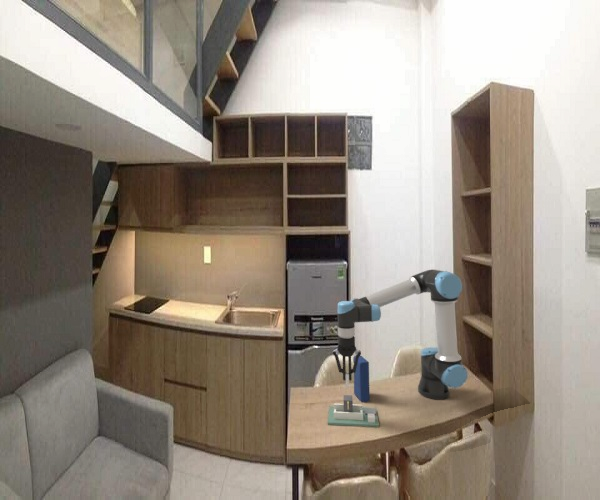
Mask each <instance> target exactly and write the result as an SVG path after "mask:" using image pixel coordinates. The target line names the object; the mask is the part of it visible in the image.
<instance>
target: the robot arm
mask: <svg viewBox="0 0 600 500" xmlns="http://www.w3.org/2000/svg"><path fill="white" fill-rule="evenodd" d="M462 289H463V284H462V280H461V278H460V277H459V276H458V275H456V274H455V273H453V272H451V271H448V270H447V271H446V270H439V269H428V270H425V271H421V272H419V273H417V274H413V275H412V276H409V278H408V279H406V280H404V281H401V282H399V283H396V284H393V285H392V286H389V287H386V288H383V289H381V290H378V291H376V292H373V293H372V294H369V295H366V296H363V297H360V298H352V299H350V300H342V301H341V300H340V301H339V302H338V303H337V312H336V313H337V336H338V337H337V342H338V343H337V347H336V349H333V350H332V354H333V356H334V358H335V362H336V365H337V369H338V372H339V373H342V381H344V382H345V389H346V390H347V389H349V390H350V381H352V378H353V377H352V374H354V373H355V371H356V367H357V363H358V358H359V356H362V355H361V354H362V352H361V350H360V349H359V350H358V349H357V347H356V337H355V335H356V333H355V331H356V327H355V324H356V323H370V322H372V323H373V322H378V321H381V320H380V319H381V317H382V311H381V308H382V307H384V306H387V305H389V304H392V303H394V302H397V301H399V300H402V299H405V298H406V297H407V298H408V297H410V296H413V295H414V294H415V295H421V294H424V293H430V300H431V301H432V302H433V303H434V313H435V327H436V329H435V330H436V341H437V342H436V343H437V347H434V346H433V347H432V346H431V347H429V346H428V347H424V348H422V349H421V352H420V364H421V365H420V369H421V370H420V372H421V373H420V375H421V377H420V379H419V382H418V384H417V385H418V386H417V393H419V394H420V396H423V397H424V398H427V399H432V400H445V399H447V398H448V397H450V388H451V389H457V388H458V389H459V388H460V387H462V386H463V385H464V384H465V383H466V381H467V380H468V376H469V374H468V370H467V368H466V367H465V366H464V365H463V363H462V361H463V360H462V359H463V358H462V356H461V355H460V353H459V352H458V339H457V337H458V336H457V324H456V323H457V321H456V308H455V307H456V306H455V303H457V302H458V298H459V296H460V295H461V294H460V293H462V291H463V290H462ZM339 354H340V355H341V356H342V365H341V361H340V357H339ZM354 354H355V356H356V357H355V361H354V363H353V366H352V356H353V355H354ZM347 357H348V361H347V362H348V371H347V370H346V358H347Z"/></svg>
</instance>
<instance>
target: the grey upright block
mask: <svg viewBox="0 0 600 500" xmlns="http://www.w3.org/2000/svg"><path fill="white" fill-rule="evenodd" d="M343 404H344V412H353V404H354V402H353V395H350V394H343Z"/></svg>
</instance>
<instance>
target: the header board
mask: <svg viewBox="0 0 600 500" xmlns="http://www.w3.org/2000/svg"><path fill="white" fill-rule="evenodd" d="M328 407H329V408H328V417H327V425H328V426H349V427H363V428H364V427H367V428H369V427H370V428H379V427H380V424H379V423H380V422H379V417H378V411H377V408H376V407H363V404H358V403H357V404H356V403H355V404H354V403H353V412H344V403H333V406H332V405H330V406H328Z"/></svg>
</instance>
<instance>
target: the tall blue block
mask: <svg viewBox="0 0 600 500" xmlns="http://www.w3.org/2000/svg"><path fill="white" fill-rule="evenodd" d="M355 357H356V355H354V356H353V358H352V361H353V364H354V361H355ZM353 379H354V380H353V393H354V395H355V397H357V398H358V400H359V401H360V402H362V403H366V402H367V403H368V402H369V401H370V398H371V397H370V362H369V361H368V360H367V359H365V358H364V356H362V355H360V356H359V358H358V363H357V367H356V371H355V373H353Z"/></svg>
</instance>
